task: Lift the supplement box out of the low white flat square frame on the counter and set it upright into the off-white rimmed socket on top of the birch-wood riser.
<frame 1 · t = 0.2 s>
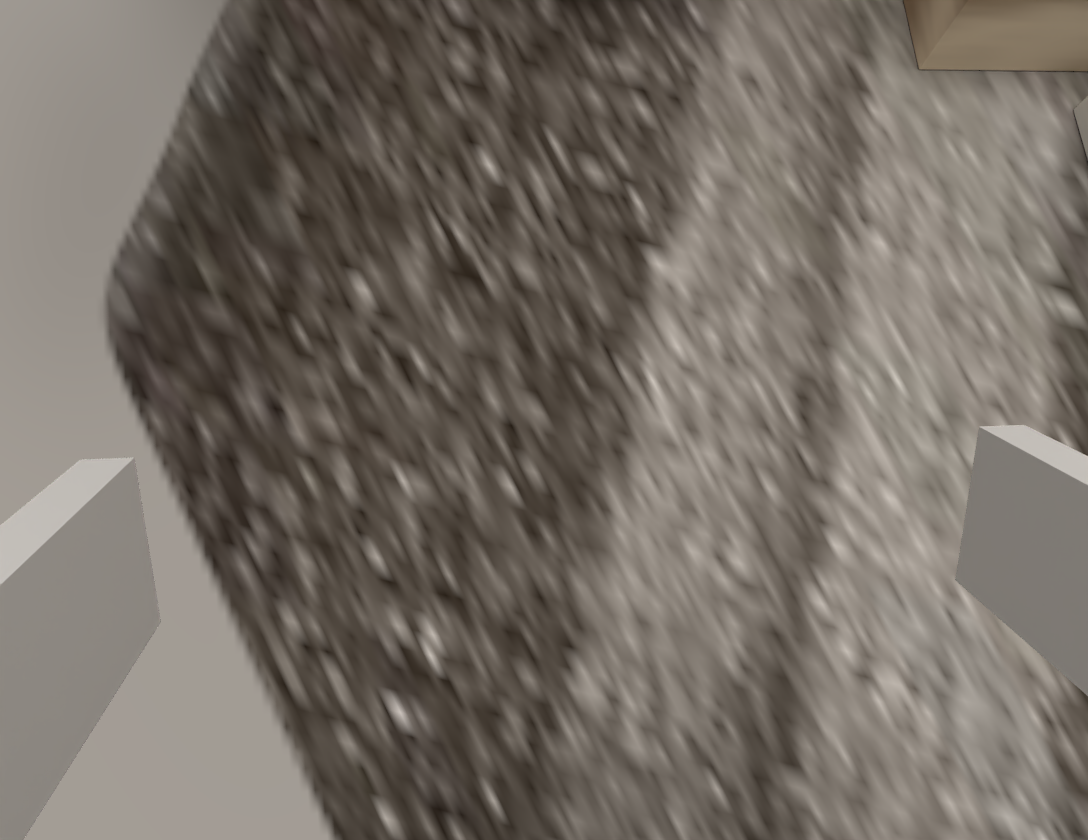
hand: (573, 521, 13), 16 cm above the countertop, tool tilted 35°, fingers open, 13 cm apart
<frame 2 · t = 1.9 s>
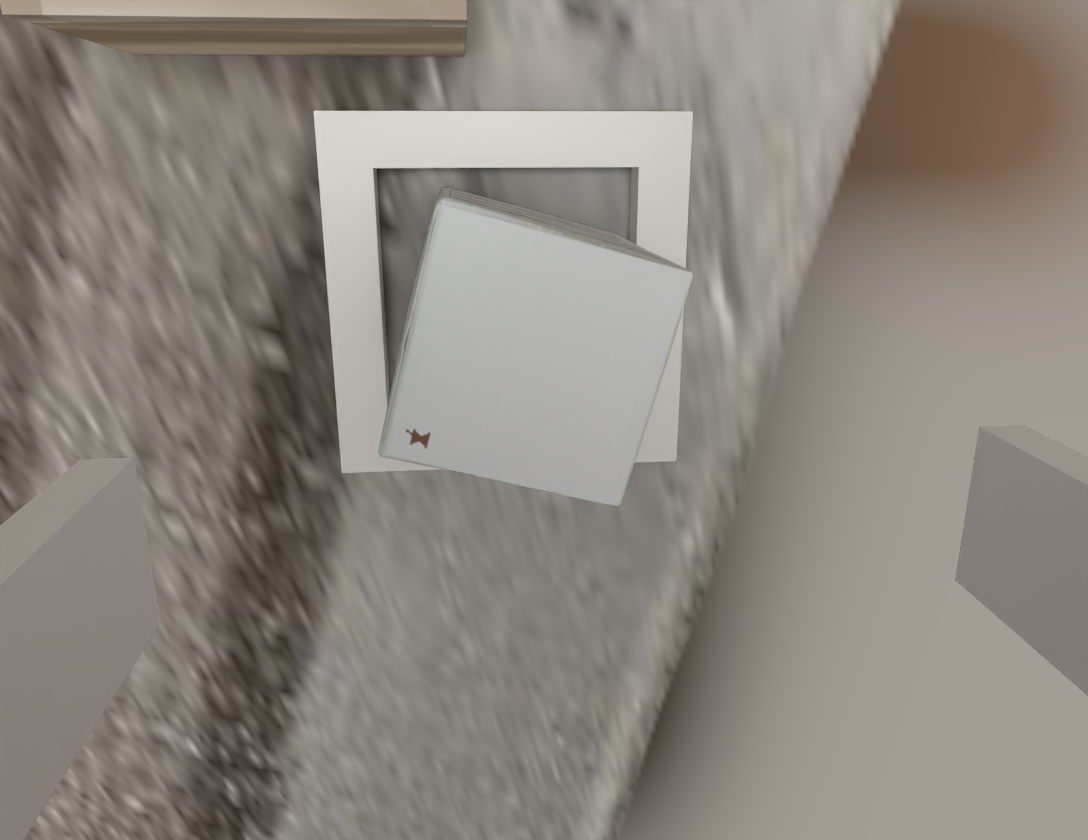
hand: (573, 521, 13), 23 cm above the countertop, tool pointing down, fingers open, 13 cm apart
white flat square frame: (507, 294, 35), on the countertop
supplement box: (507, 293, 35), resting in white flat square frame
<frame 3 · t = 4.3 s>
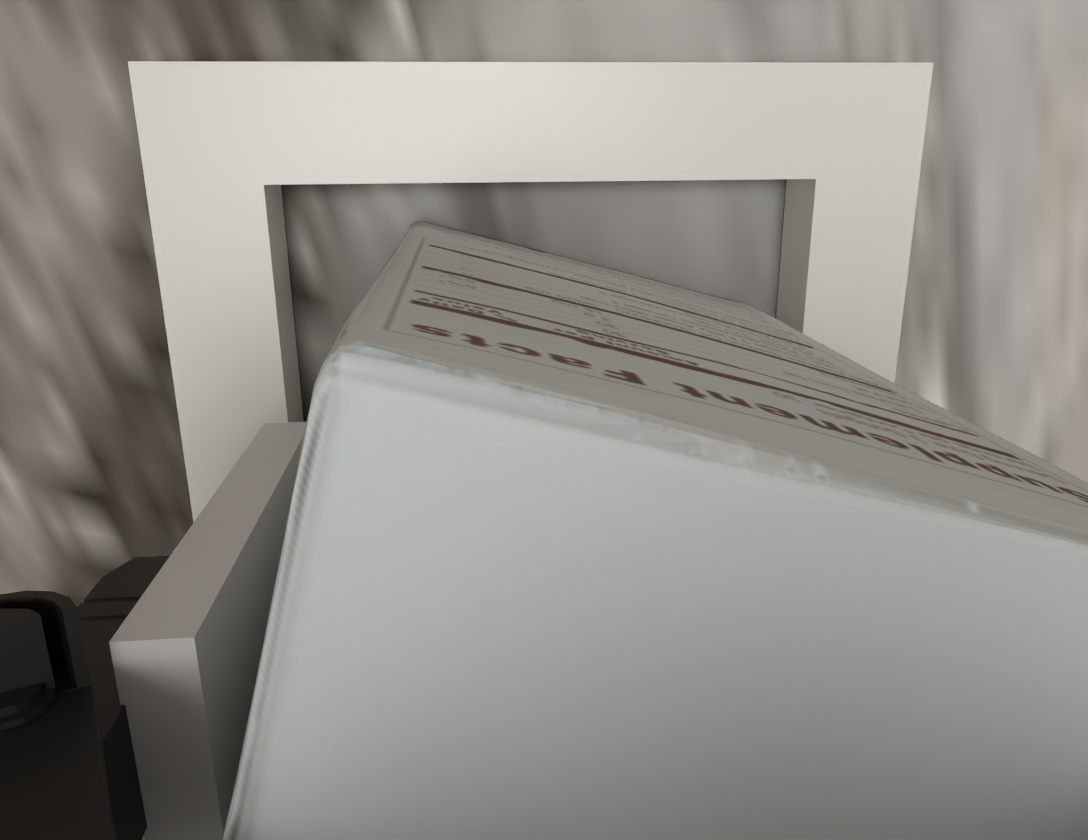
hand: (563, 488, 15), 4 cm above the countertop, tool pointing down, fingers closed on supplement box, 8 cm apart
white flat square frame: (542, 420, 18), on the countertop
supplement box: (541, 417, 19), resting in white flat square frame, touching gripper
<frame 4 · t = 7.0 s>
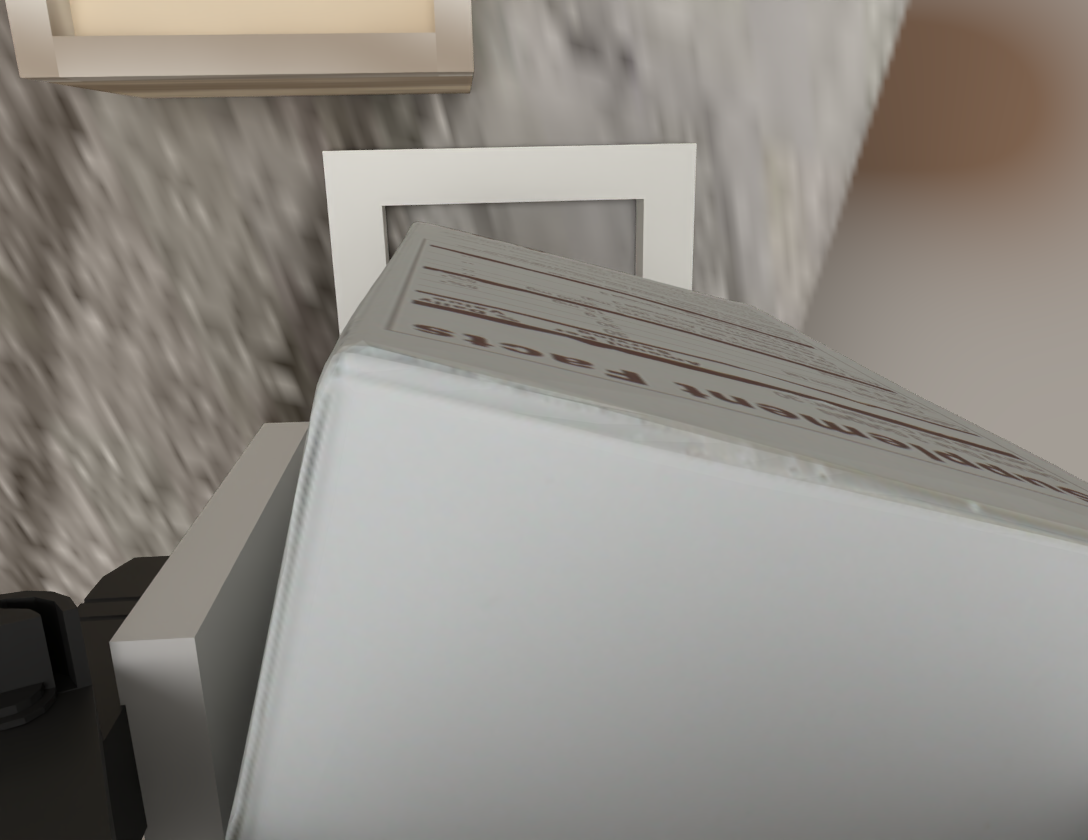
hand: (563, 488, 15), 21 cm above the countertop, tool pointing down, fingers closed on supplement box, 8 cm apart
white flat square frame: (516, 324, 36), on the countertop
supplement box: (542, 417, 19), point 17 cm above the countertop, touching gripper
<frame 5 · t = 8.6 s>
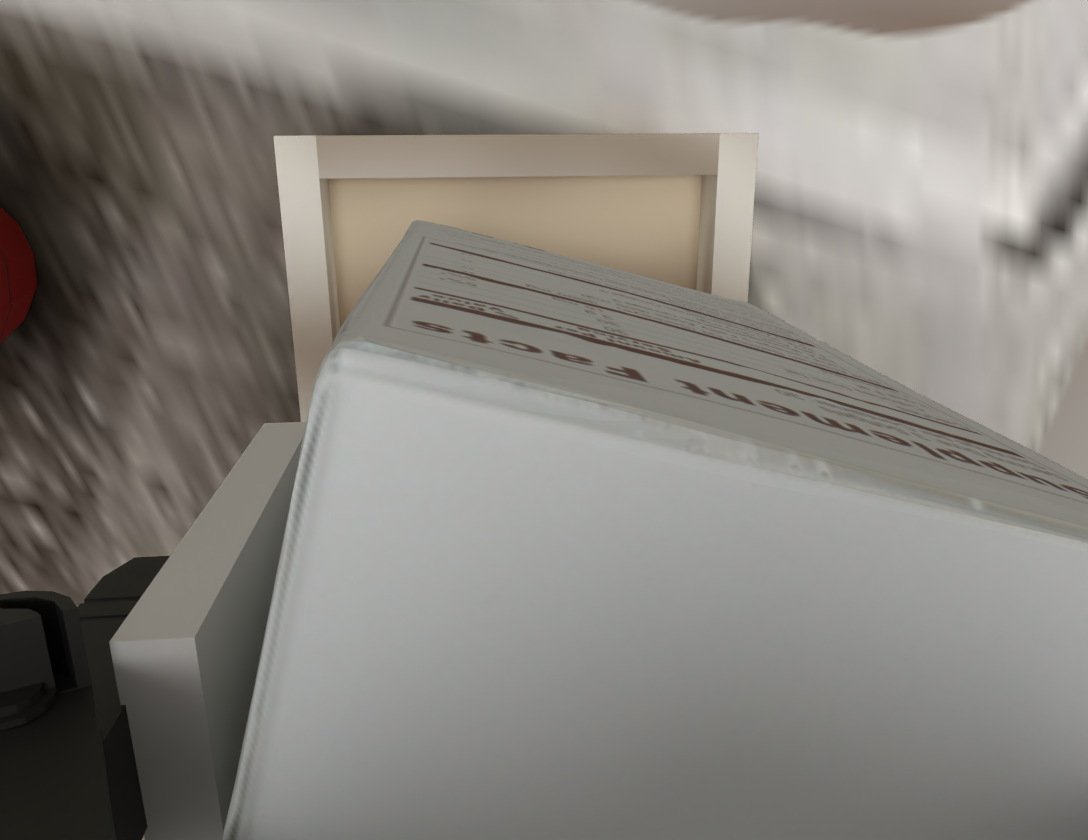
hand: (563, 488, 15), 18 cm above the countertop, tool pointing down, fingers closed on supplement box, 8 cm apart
supplement box: (542, 416, 19), point 14 cm above the countertop, touching gripper
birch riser: (506, 308, 32), on the countertop
when the fingers open (13 cm above the countertop, at t = 9.9 s): supplement box drops 1 cm, resting on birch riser.
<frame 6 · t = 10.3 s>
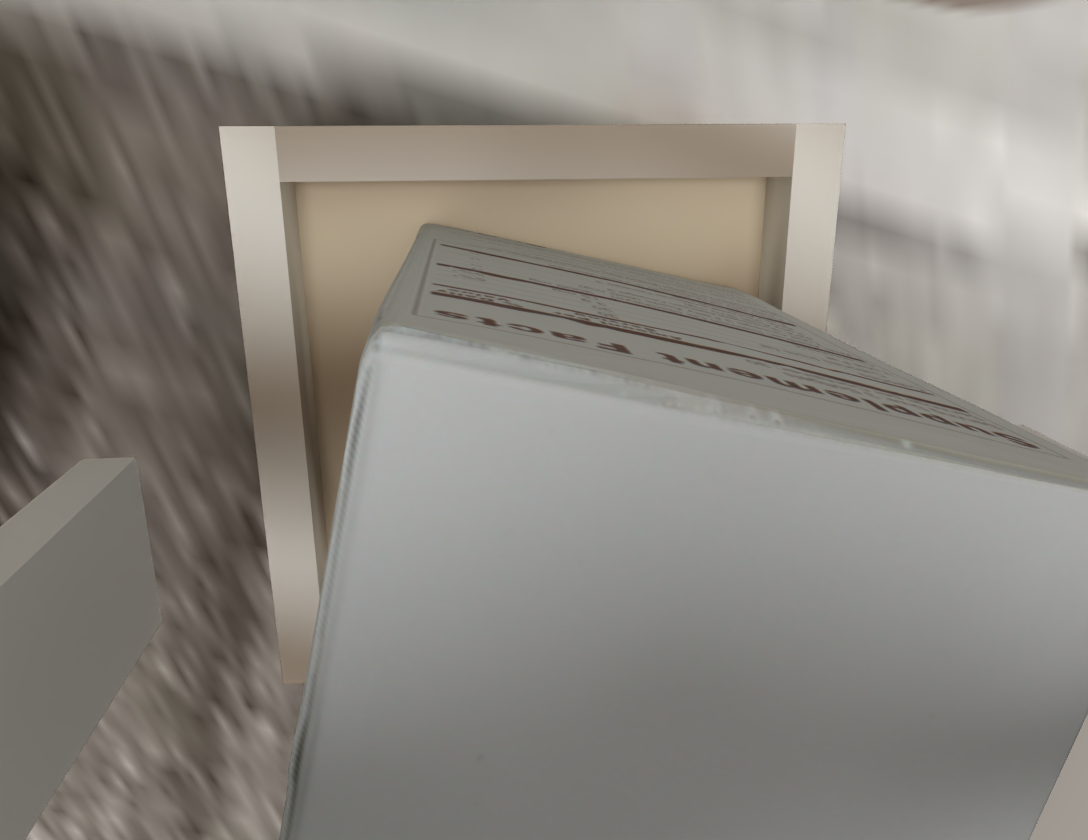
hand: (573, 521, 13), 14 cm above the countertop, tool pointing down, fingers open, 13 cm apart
supplement box: (549, 403, 20), point 8 cm above the countertop, touching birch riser
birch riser: (516, 332, 27), on the countertop
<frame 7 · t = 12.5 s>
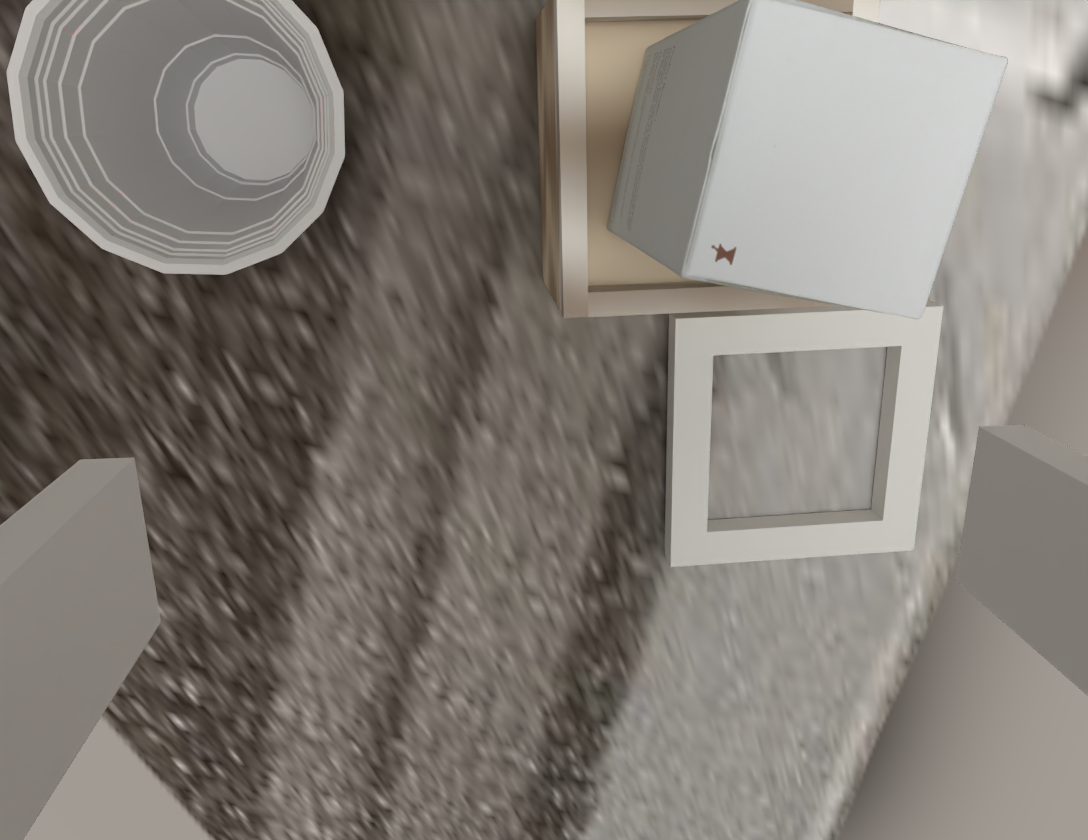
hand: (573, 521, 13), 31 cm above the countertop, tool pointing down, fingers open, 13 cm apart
white flat square frame: (791, 432, 47), on the countertop
plastic cup: (260, 120, 40), on the countertop
supplement box: (710, 157, 35), point 8 cm above the countertop, touching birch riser
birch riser: (661, 151, 42), on the countertop
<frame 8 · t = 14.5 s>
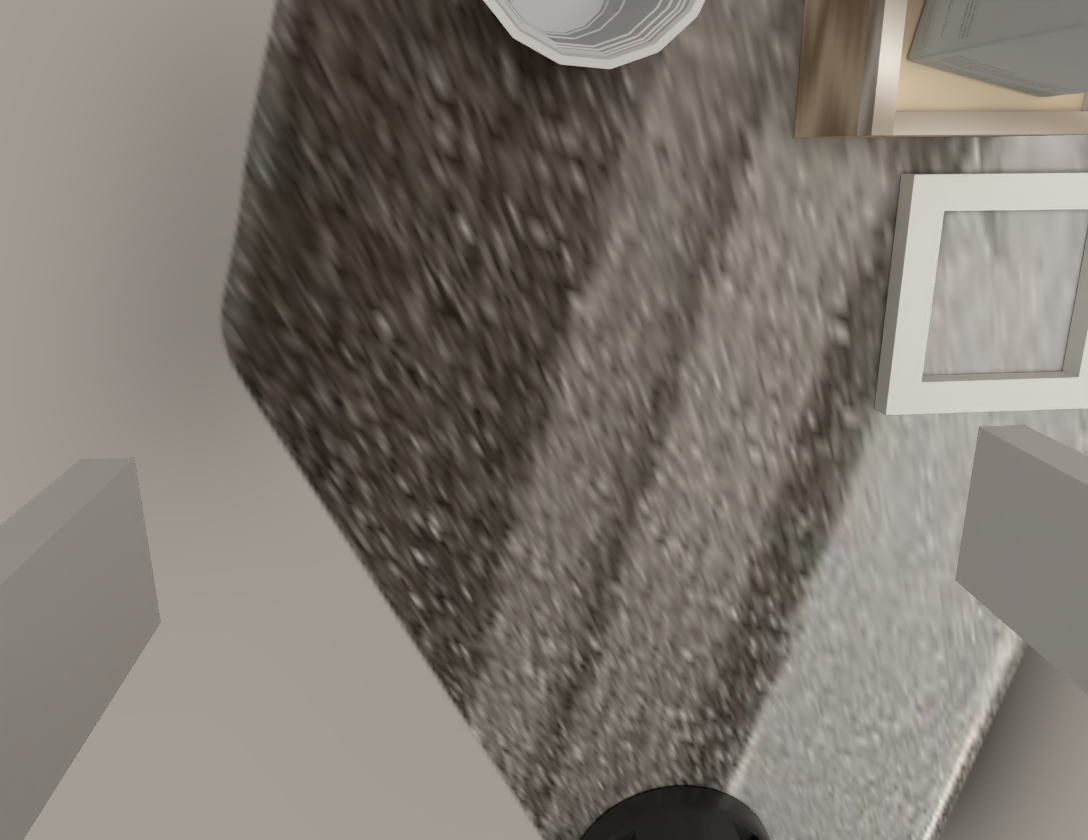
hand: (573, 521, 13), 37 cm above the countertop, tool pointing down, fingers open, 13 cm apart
white flat square frame: (998, 293, 52), on the countertop
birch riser: (910, 20, 47), on the countertop
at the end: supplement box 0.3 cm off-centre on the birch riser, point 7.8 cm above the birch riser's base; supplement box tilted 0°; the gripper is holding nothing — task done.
